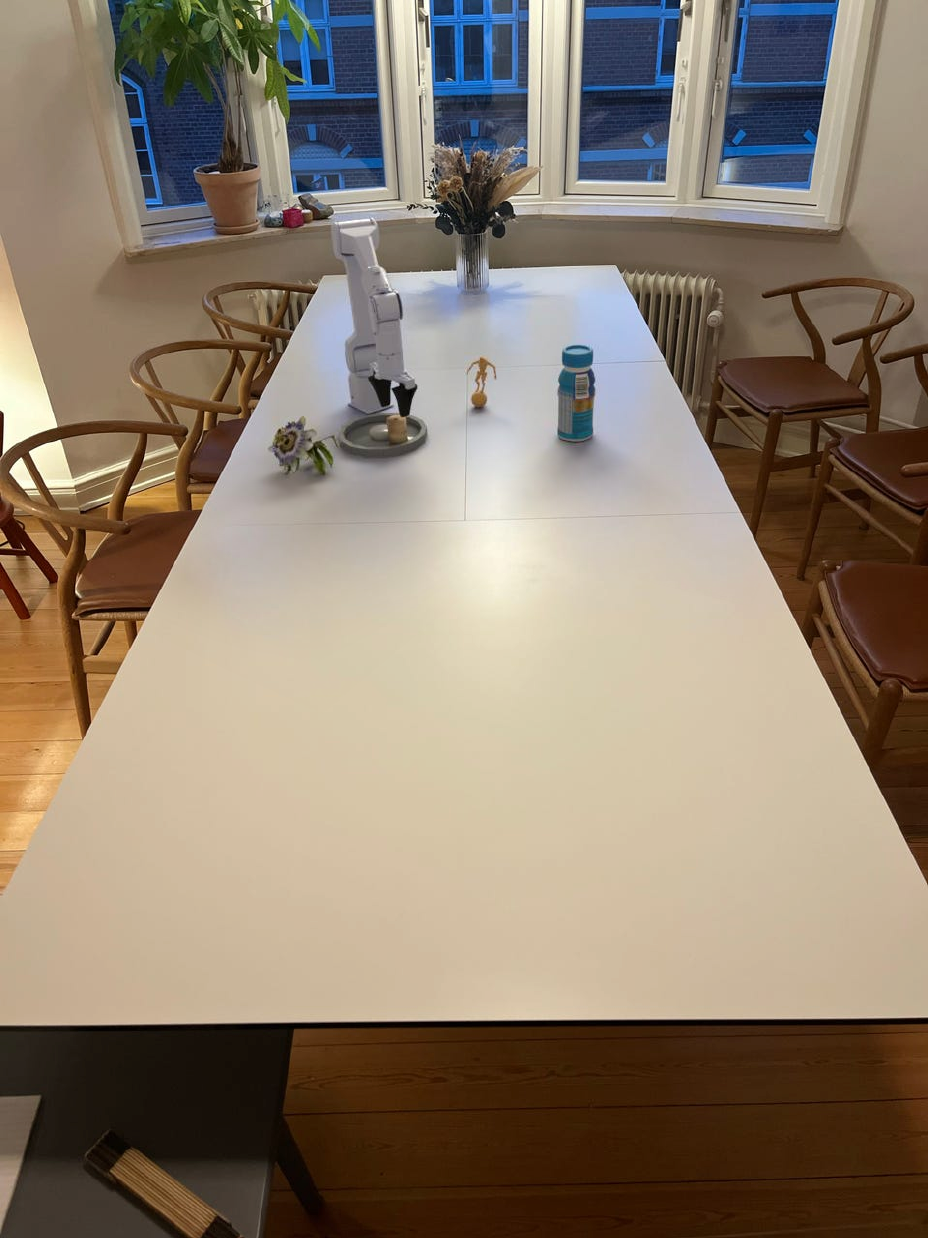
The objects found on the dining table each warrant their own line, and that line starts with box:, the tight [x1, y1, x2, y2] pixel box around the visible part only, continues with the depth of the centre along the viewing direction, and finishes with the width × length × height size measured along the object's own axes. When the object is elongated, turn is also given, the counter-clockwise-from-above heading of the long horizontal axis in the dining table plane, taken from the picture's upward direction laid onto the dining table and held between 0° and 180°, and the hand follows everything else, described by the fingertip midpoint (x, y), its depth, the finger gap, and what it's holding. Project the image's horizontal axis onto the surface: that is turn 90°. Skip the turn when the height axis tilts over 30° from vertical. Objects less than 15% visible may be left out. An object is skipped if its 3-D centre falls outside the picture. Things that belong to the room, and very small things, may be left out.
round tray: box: [337, 412, 429, 459], centre depth 204 cm, size 20×20×2 cm
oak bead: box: [386, 415, 408, 446], centre depth 199 cm, size 4×4×6 cm
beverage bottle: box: [556, 344, 596, 443], centre depth 195 cm, size 8×8×20 cm
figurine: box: [466, 356, 497, 408], centre depth 215 cm, size 8×6×12 cm
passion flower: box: [268, 415, 340, 475], centre depth 192 cm, size 13×12×14 cm
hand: (395, 410), depth 196 cm, fingers open, 7 cm apart
